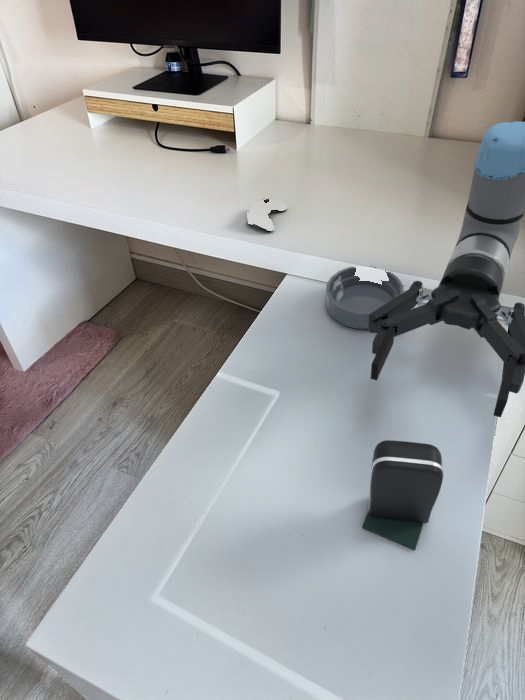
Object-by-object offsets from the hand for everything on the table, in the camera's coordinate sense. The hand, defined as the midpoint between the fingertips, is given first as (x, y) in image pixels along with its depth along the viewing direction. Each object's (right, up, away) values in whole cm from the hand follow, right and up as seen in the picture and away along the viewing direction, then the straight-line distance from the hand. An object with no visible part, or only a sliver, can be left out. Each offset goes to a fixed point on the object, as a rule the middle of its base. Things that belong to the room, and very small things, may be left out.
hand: (434, 389), depth 55 cm
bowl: (-2, +12, +27) cm, 30 cm away
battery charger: (-3, -14, +3) cm, 14 cm away
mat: (-3, -14, +3) cm, 14 cm away
